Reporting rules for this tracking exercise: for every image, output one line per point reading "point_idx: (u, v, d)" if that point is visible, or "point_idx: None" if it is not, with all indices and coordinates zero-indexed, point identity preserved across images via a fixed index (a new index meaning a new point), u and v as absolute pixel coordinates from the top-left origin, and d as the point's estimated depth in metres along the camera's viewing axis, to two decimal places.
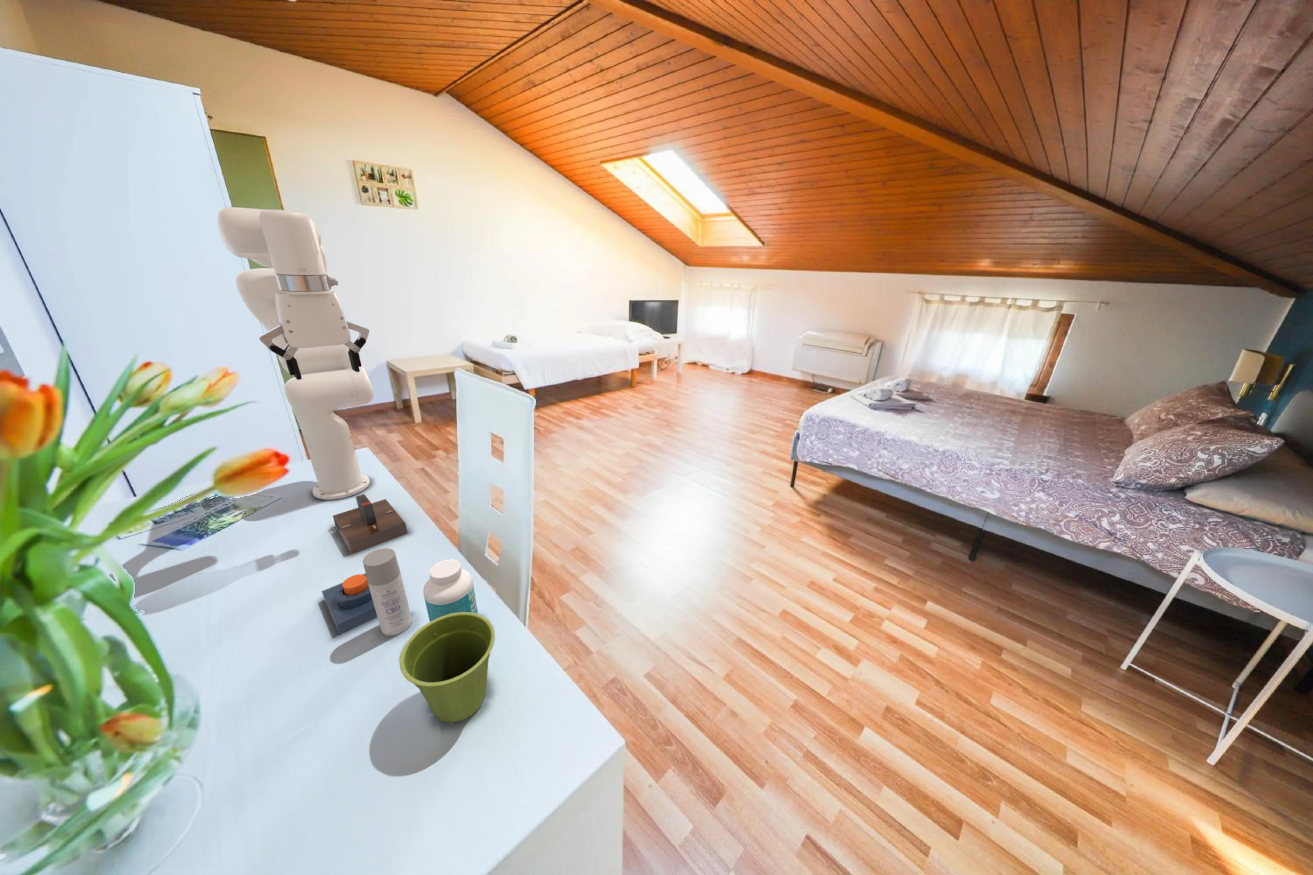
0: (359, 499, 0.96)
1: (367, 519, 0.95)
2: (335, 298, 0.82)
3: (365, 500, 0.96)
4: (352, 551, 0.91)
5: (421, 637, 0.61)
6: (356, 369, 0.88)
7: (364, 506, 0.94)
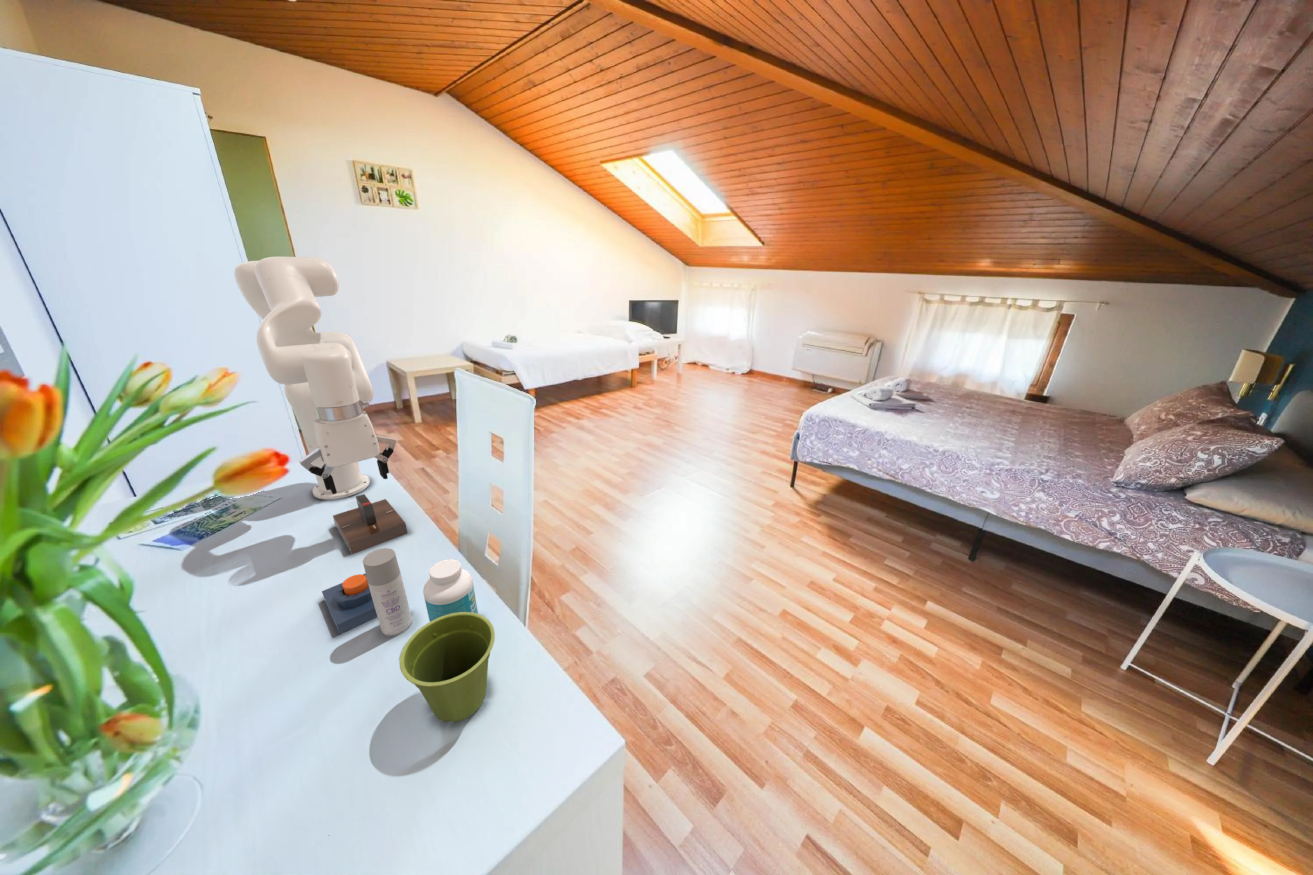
0: (359, 499, 0.96)
1: (367, 519, 0.95)
2: (367, 419, 0.90)
3: (365, 500, 0.96)
4: (352, 551, 0.91)
5: (421, 637, 0.61)
6: (384, 477, 0.96)
7: (364, 506, 0.94)
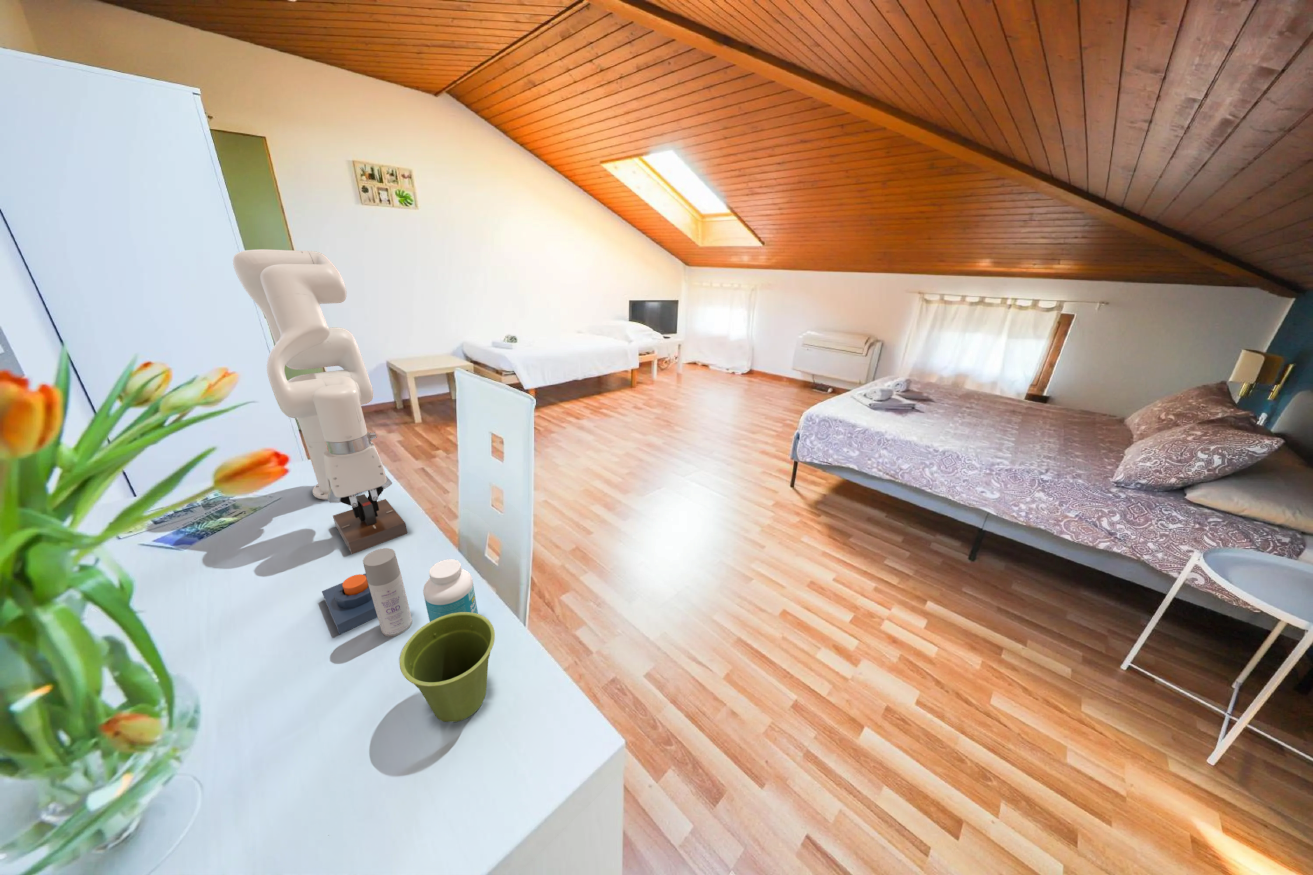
0: (359, 499, 0.96)
1: (367, 519, 0.95)
2: (374, 451, 0.93)
3: (365, 500, 0.96)
4: (352, 551, 0.91)
5: (421, 637, 0.61)
6: None
7: (364, 506, 0.94)
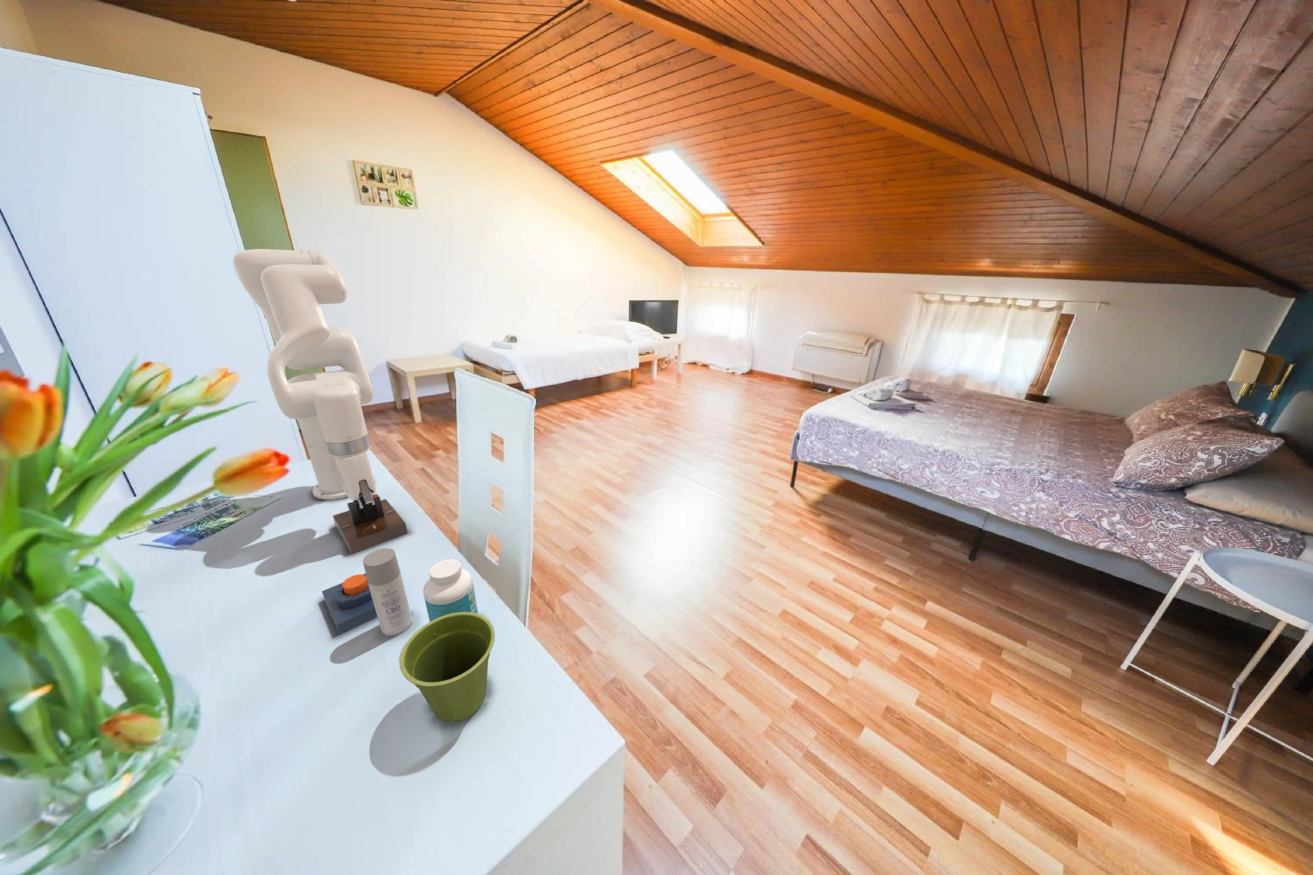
0: None
1: (382, 509, 0.99)
2: None
3: None
4: (352, 551, 0.91)
5: (421, 637, 0.61)
6: None
7: None
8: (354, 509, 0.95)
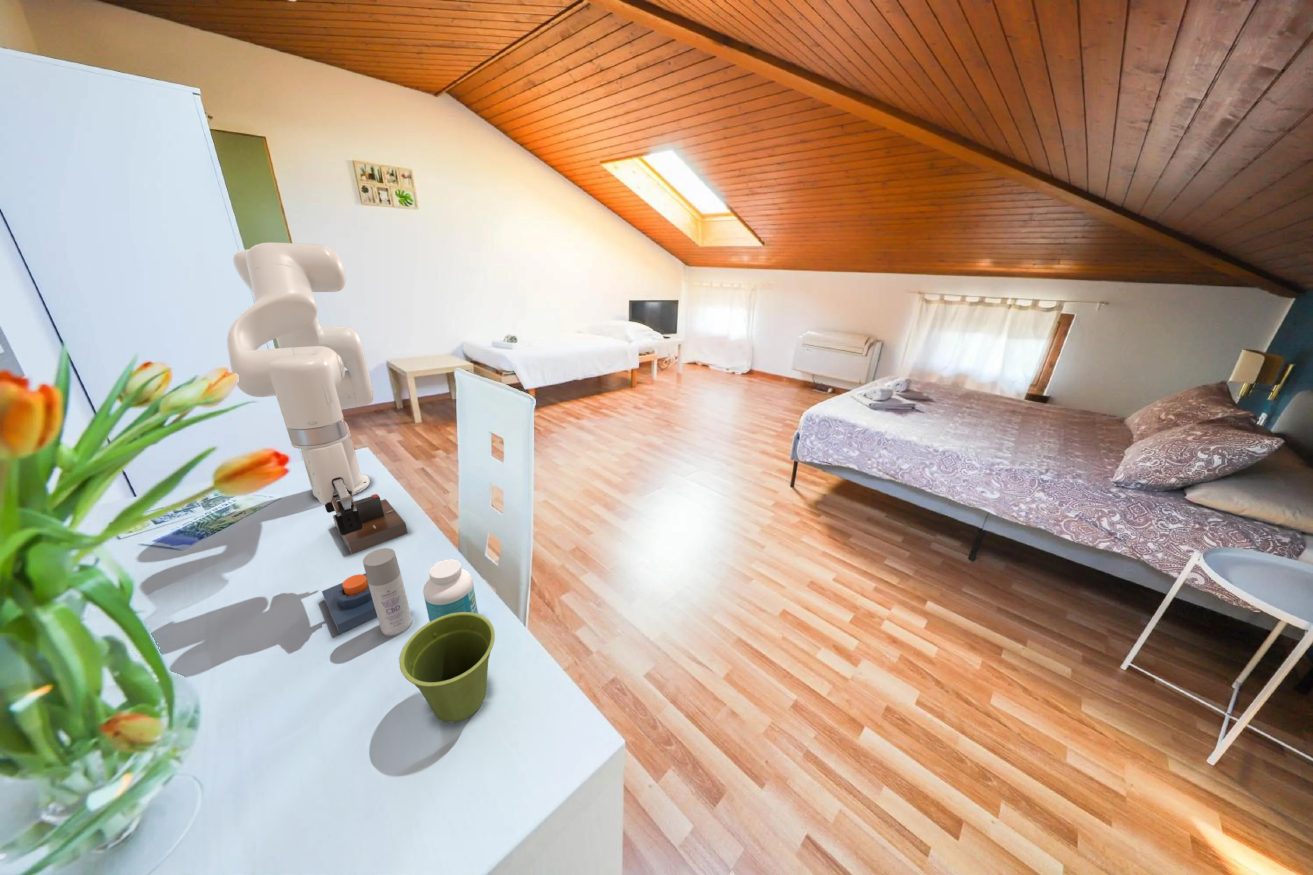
0: (359, 502, 0.95)
1: (382, 509, 0.99)
2: None
3: (365, 499, 0.97)
4: (352, 551, 0.91)
5: (421, 637, 0.61)
6: None
7: None
8: None
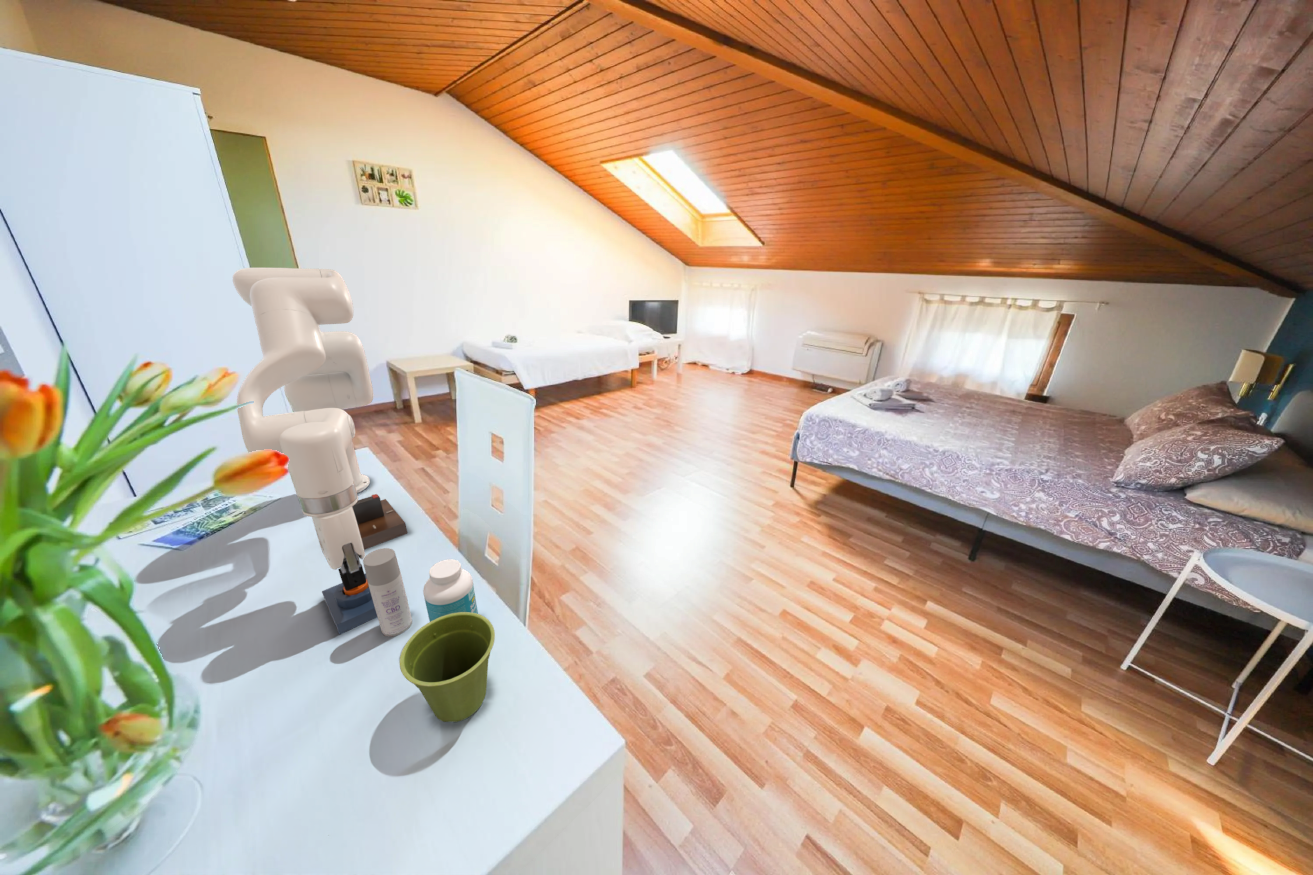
0: (359, 502, 0.95)
1: (382, 509, 0.99)
2: None
3: (365, 499, 0.97)
4: None
5: (421, 637, 0.61)
6: None
7: None
8: (354, 509, 0.95)
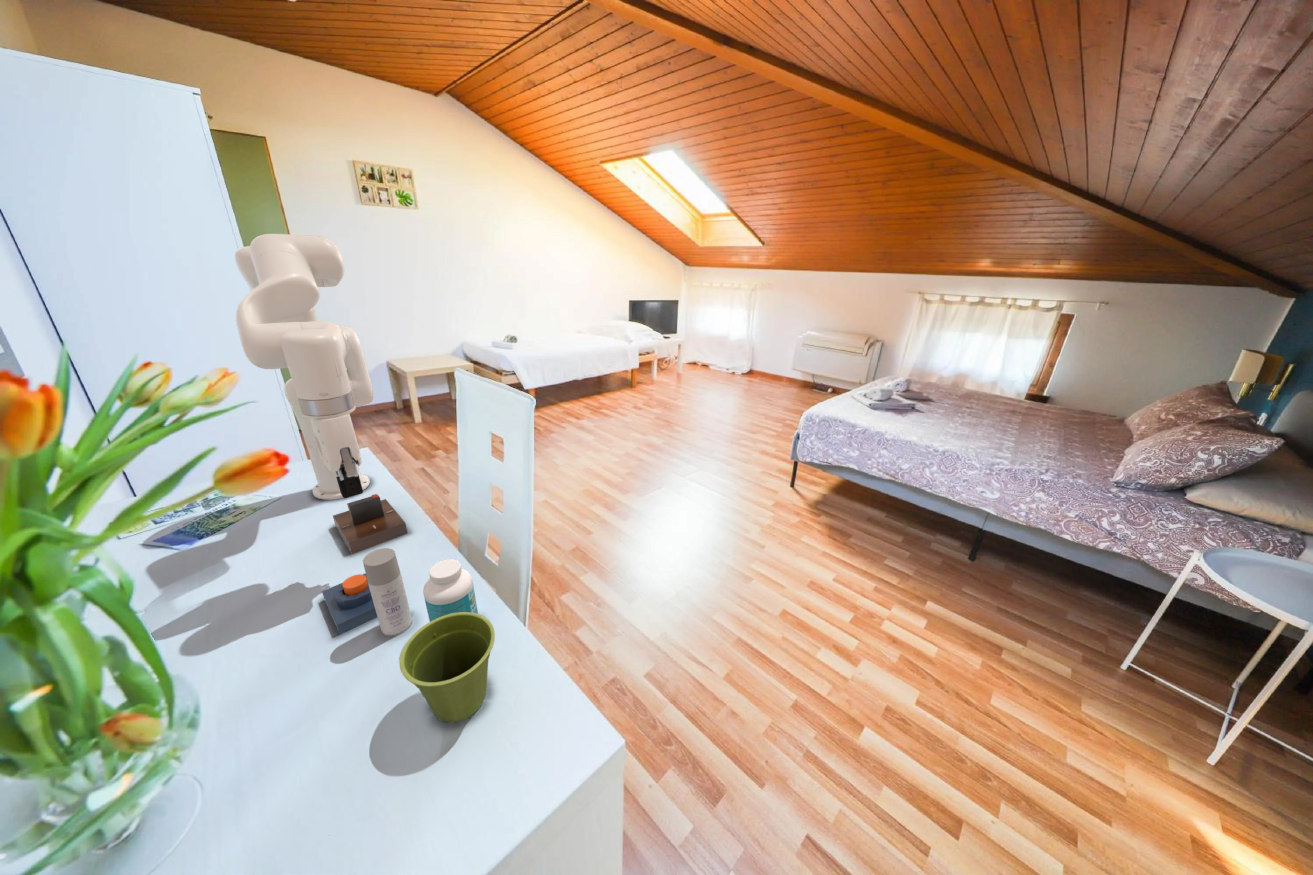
0: (359, 502, 0.95)
1: (382, 509, 0.99)
2: None
3: (365, 499, 0.97)
4: (352, 551, 0.91)
5: (421, 637, 0.61)
6: None
7: None
8: (354, 509, 0.95)
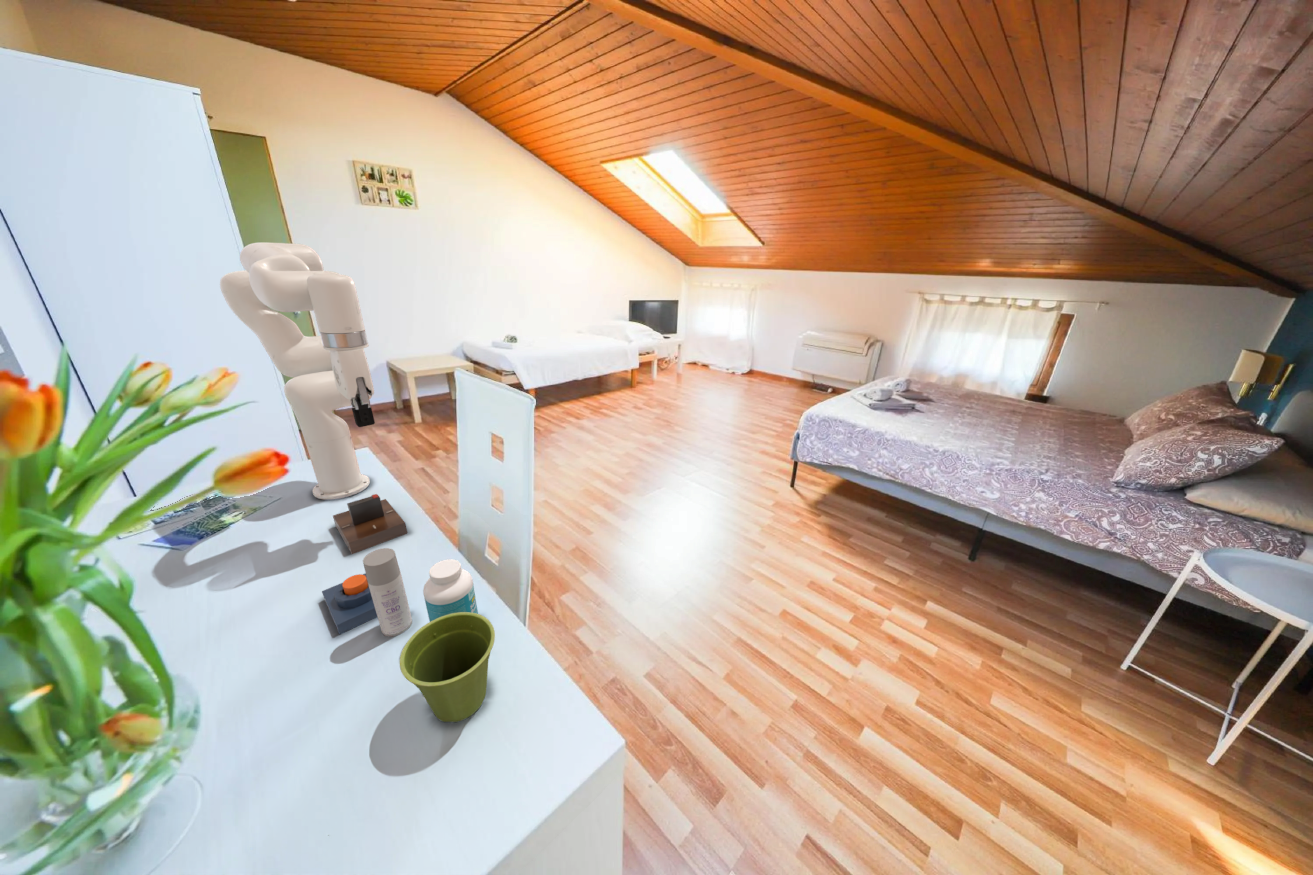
0: (359, 502, 0.95)
1: (382, 509, 0.99)
2: None
3: (365, 499, 0.97)
4: (352, 551, 0.91)
5: (421, 637, 0.61)
6: None
7: None
8: (354, 509, 0.95)
